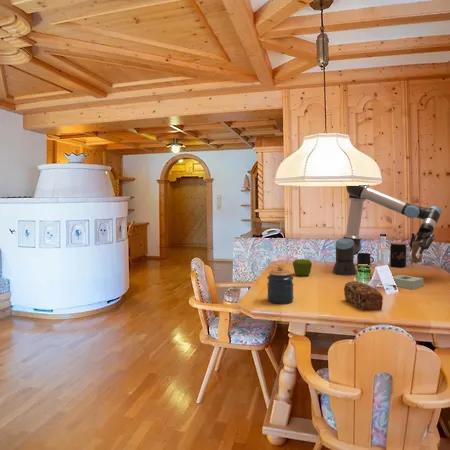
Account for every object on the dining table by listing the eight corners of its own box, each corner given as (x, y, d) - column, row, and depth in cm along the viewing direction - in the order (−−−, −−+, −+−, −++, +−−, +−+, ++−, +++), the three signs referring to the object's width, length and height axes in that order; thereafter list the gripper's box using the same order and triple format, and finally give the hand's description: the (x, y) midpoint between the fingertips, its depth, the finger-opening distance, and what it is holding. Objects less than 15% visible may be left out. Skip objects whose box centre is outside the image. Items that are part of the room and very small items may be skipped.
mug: (373, 267, 267) (373, 255, 266) (356, 265, 272) (356, 254, 272) (374, 265, 275) (374, 253, 274) (358, 264, 281) (358, 252, 280)
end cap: (388, 285, 209) (388, 277, 208) (399, 281, 216) (399, 274, 216) (412, 289, 198) (412, 281, 197) (423, 286, 205) (423, 278, 205)
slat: (411, 262, 213) (412, 242, 212) (416, 261, 217) (417, 241, 216) (417, 263, 211) (417, 242, 210) (421, 261, 214) (422, 242, 213)
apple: (289, 274, 244) (289, 257, 243) (305, 272, 248) (305, 256, 247) (298, 277, 232) (298, 260, 232) (315, 276, 236) (315, 259, 235)
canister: (293, 297, 184) (293, 263, 183) (293, 305, 171) (292, 268, 170) (268, 296, 187) (268, 263, 185) (265, 303, 174) (265, 267, 173)
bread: (343, 300, 179) (343, 280, 178) (363, 299, 180) (363, 279, 179) (361, 311, 160) (361, 289, 160) (383, 310, 161) (384, 288, 161)
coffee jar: (390, 267, 265) (390, 243, 263) (389, 264, 274) (390, 241, 273) (406, 268, 260) (407, 243, 259) (405, 265, 270) (405, 242, 269)
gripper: (443, 232, 215) (430, 262, 206) (416, 230, 228) (402, 259, 219) (439, 223, 212) (426, 254, 203) (412, 222, 225) (398, 251, 216)
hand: (413, 256), depth 211 cm, fingers closed on slat, 3 cm apart
